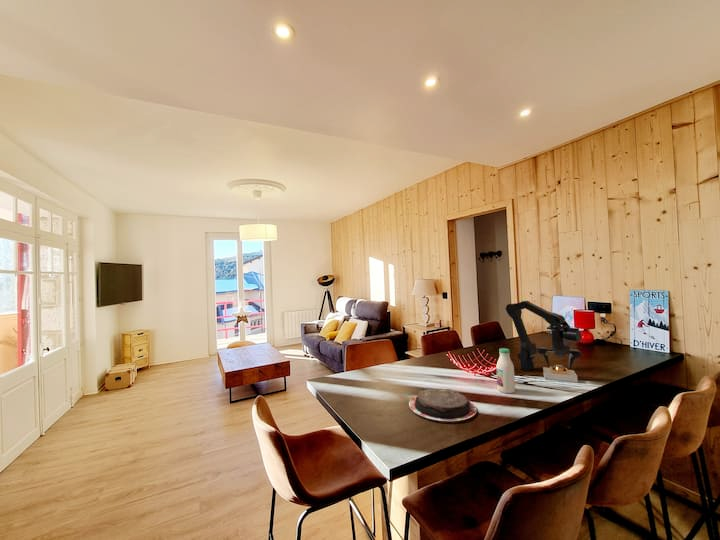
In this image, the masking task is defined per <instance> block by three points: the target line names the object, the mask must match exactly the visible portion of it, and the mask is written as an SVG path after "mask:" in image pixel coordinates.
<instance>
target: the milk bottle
mask: <svg viewBox="0 0 720 540" xmlns="http://www.w3.org/2000/svg"><path fill="white" fill-rule="evenodd" d="M498 351H499V357H498V359H497V363H496V384H497V385H496V388H497V391H499V392H501V393H502V394H503V393H505V394H515V392H516V381H515V367H514V366H515V365H514V363H513V361H512V359H511V357H510V355H511V353H510V352H511V351H510V349H509V348H505V347H504V348H503V347H500V348H499V349H498Z"/></svg>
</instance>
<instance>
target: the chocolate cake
mask: <svg viewBox="0 0 720 540" xmlns="http://www.w3.org/2000/svg"><path fill="white" fill-rule="evenodd" d="M408 407H409V408H410V410H412V412H413V413H414V414H415V415H417V416H418V417H421V418H423V419H424V420H428V421H430V422H433V421H436V422H439V423H441V424H446V423H452V424H457V423H460V422H464V421H466V420H468V419H471V418H473V417H474V416H475V415H476V413H477V407H476V405H475V404H474V403H473V402H472V401H470V400H469V399H468V398H467V397H466V396H465V395H463V394H462V393H461V392H458V391H455V390H454V389H451V388H450V389H449V388H447V389H446V388H445V389H443V388H428V389H424V390H419V391H418V392H417V395H416V396H413V397H411V398H410V400H409V401H408Z"/></svg>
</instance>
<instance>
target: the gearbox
mask: <svg viewBox="0 0 720 540" xmlns="http://www.w3.org/2000/svg"><path fill="white" fill-rule="evenodd" d="M542 373H543V377H544V380H547V381H556V382H564V383H565V382H566V383H574V384H578V383H579V382H578V375H577V374H576V371H575V370H572V369H569V368H567V367H564V371H557V370H555V367H554V366H550V365H549V367H544V366H543V367H542Z"/></svg>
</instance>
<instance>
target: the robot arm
mask: <svg viewBox="0 0 720 540" xmlns="http://www.w3.org/2000/svg"><path fill="white" fill-rule="evenodd" d="M524 309H525V310H527V311H529V312H531V313H533V314H535V315H537V316H539V317H540V318H542V319H544V321H545V322H546V323H548V324H549V326H547V327H546V329H547V330H549V331H550V335H551V337H550V338H551V348H547V347H546V346H538V347H537V345H536V343H533V342H531V340H530V337H529V335H528V332H527V329H526V327H525V324H524V322H523V319H522V310H524ZM505 311H506V313H507V314H508V317H510V318H511V319H512V322H513V325H514V327H515V330H516V333H517V336H518V338H519V340H520V345H519V346H520V348H519V350H520V352H519V353H518V354H517V355H516V356H517V357H516V358H517V360H519V364H520V366H519V369H520V371H527V372H534V370H535V366H534V365H535V364H534V363H535V362H534V361H533V359H535V357H536V356H537V355H538V354H539V355H541V356H543V357H544V360H545V362H546V364H547V368H550V361H549V356H548V353H549V354H550V353H551V354H554V355H555V356H561V357H566V355H568V370H571V368H572V365H573V363H574V361H575V359H578V358H581V357H582V354H581V351H580V350H579V349H578V348H577V349H574V348H571V347H570V346H569V345H565V340H566V341H570V342H577V343H579V342H580V343H581V341H582V336H583V334H582V331H580V328H577V327H571V325H570V324H569V323H568V322H567V320H566V319H565V317H564V316H563V315H562V314H559V313H555V312H550V311H548V310H546V309H545V308H542V307H540V306H538V305H536V304H534V303H533V302H530V301H529V300H522V301H520V302H516V303H508V304H506V306H505Z"/></svg>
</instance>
